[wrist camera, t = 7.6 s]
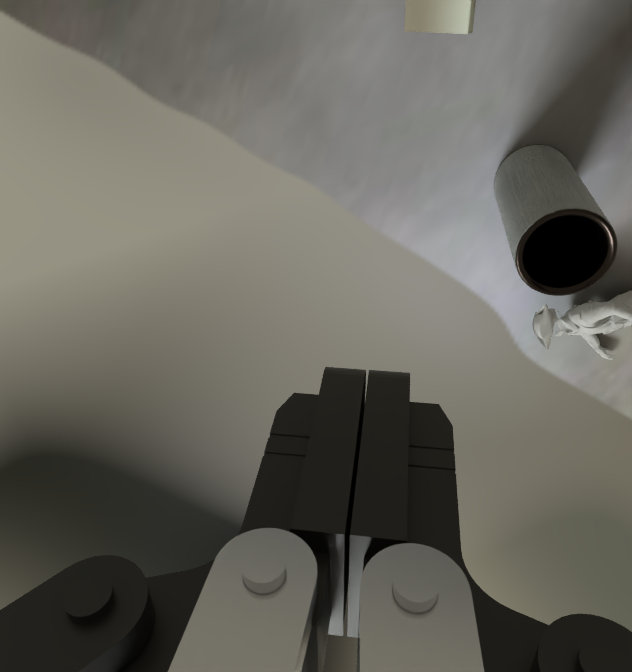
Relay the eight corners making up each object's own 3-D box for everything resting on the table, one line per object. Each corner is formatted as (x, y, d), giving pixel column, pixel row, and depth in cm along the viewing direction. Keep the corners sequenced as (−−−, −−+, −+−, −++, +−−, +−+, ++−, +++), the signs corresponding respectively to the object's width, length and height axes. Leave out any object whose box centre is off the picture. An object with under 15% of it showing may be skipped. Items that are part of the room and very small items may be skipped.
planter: (489, 215, 38) (509, 295, 30) (497, 143, 36) (522, 207, 27) (564, 216, 37) (606, 298, 29) (578, 143, 35) (628, 209, 26)
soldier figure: (697, 343, 42) (535, 390, 42) (669, 280, 43) (511, 325, 43) (777, 315, 35) (579, 372, 34) (740, 239, 36) (549, 294, 35)
